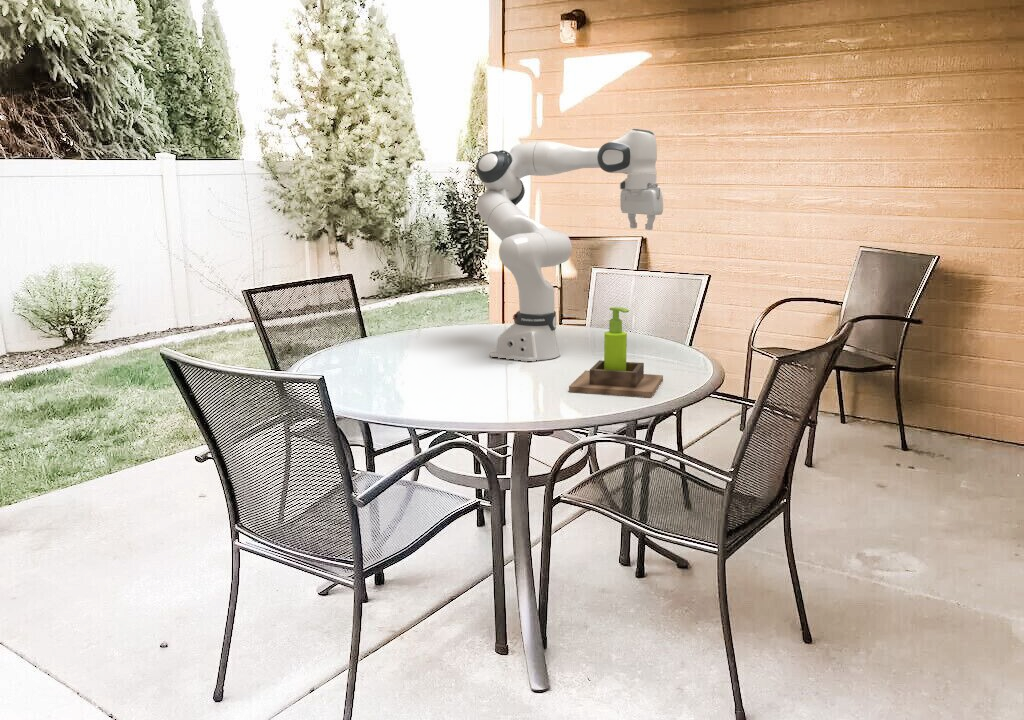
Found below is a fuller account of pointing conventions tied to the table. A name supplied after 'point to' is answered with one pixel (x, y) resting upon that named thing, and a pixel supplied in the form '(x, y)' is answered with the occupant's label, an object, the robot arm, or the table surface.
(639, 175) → the robot arm
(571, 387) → the caddy
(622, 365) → the soap dispenser
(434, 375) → the table surface
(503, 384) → the table surface
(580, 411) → the table surface
